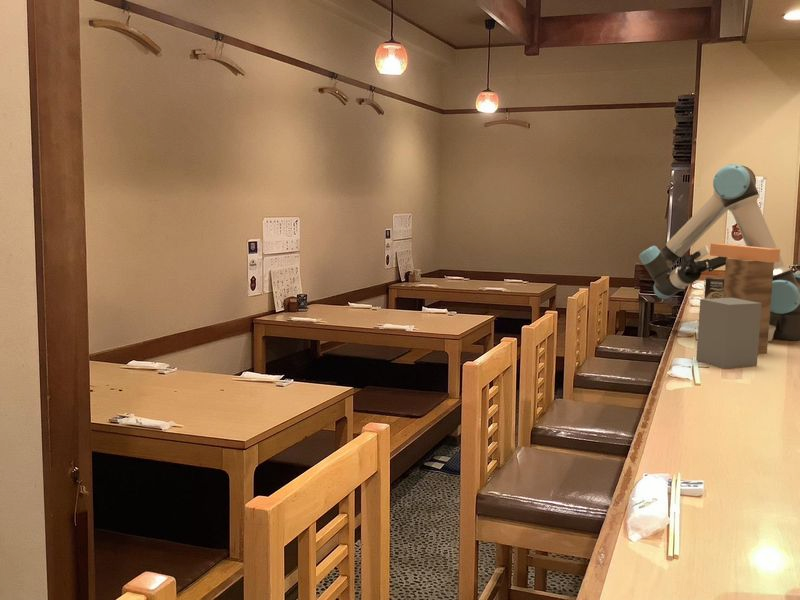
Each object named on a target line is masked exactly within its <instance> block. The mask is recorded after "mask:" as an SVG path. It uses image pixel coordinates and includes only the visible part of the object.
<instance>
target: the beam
mask: <svg viewBox="0 0 800 600" xmlns="http://www.w3.org/2000/svg"><path fill="white" fill-rule="evenodd" d="M709 246H710V248H709V256H714V257H728V258H736V259H744V260H753V261H761V262H779V257H780V256H781V255H780V253H781V252H780V251H781V248H777V249H772V248H762V247H752V246H746V245H741V244H732V243H731V244H729V243H722V242H721V243H720V242H719V243H718V242H717V243H714V242H713V243H710V245H709Z"/></svg>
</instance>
